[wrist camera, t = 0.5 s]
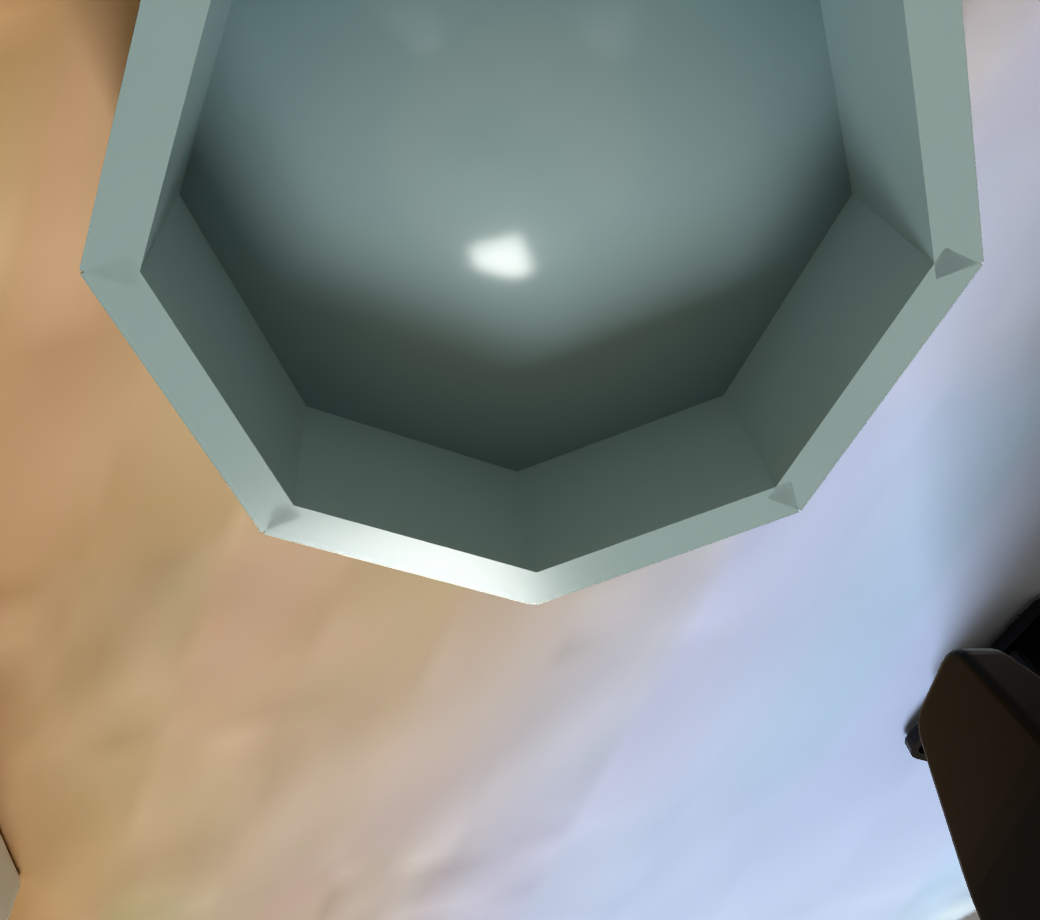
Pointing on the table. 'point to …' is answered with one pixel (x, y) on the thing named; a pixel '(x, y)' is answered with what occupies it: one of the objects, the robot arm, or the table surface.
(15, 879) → the small box
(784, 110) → the bowl
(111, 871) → the table surface
